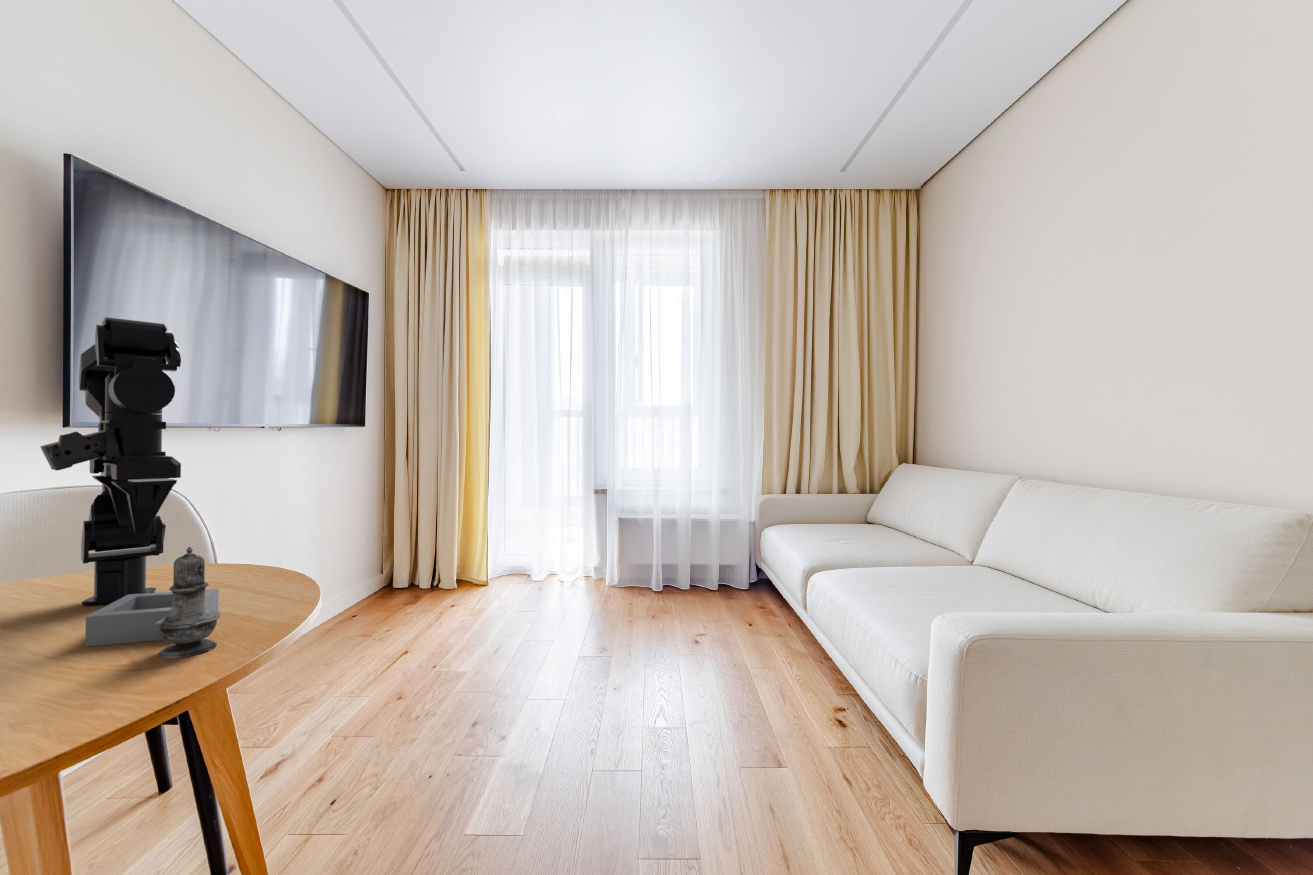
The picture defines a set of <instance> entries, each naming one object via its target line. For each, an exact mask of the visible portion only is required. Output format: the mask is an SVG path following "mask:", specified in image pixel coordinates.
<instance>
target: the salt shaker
mask: <svg viewBox="0 0 1313 875" xmlns="http://www.w3.org/2000/svg"><path fill="white" fill-rule="evenodd" d="M193 551H194V549H193V547H191V546H188V547H187V548H186V550H185V552H186V553H185V554H183V555H182V556H179V557H177V558H175V560H174V562H173V583H172V584H173V585H171V586H170V587H169V588H168V590H169V592H172V608H171V612H170V614H169V616H168V617H166V618H164V619H162V620H159V621H158V622H157V623H156V627H157V628H159V634H160V635H161V637H162V639H163V640H164V641H165V642H166V643H168V644H169V645H167V646H166V647H164V648H163V649H162V650H160V651H159V652H158V657H160V658H162V659H170V660H171V659H182V658H188V657H189V658H190V657H194V656H199V655H201V654H205V653H208V652H209V651H212V650H214V649H215V648H216V647H217V646H218V644H217V642H216V641H214V640H211V639H208V638H209V636H210V635H211V634H212V633H213V632H214V631H215V628H216V627H217V624H218V620H219V618H220V617H221V614H220V612H219V611H218V612H213V611H209V610H208V609H207V606H206V603H205V589H207V587H209V583H208V582H206V581H205V577H206V574H205V572H206V571H205V570H206V569H205V568H206V566H205V564H206V561H205V558H204V557H203V556H201V555H199V554H196V553H193ZM207 637H208V638H207ZM163 640H162V641H163Z"/></svg>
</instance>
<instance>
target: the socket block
mask: <svg viewBox="0 0 1313 875" xmlns="http://www.w3.org/2000/svg"><path fill="white" fill-rule="evenodd" d="M219 592H220V590H219V588H205V603H206V606H207V609H208V610H209V611H213V612H218V613H219V605H220V604H219V601H220V600H219V594H220V593H219ZM171 608H172V591H163V592H162V591H158V592H152V593H143V594H128V595H126V596H124V597H123V598H121V599H119V600H117V601H115V602H113V603H108V604H107V605H105V606H104V607H102V608H100V609H98V610H95V612H93V613H90V614H88V615H86V616H85V647H86V648H87V647H88V648H89V647H96V646H97V647H98V646H106V645H107V646H108V645H119V644H132V643H142V642H143V643H144V642H153V641H155V642H156V641H163V639H162V637H161V635H160V634H159V628H157V627H156V623H157V622H158V621H159V620H162V619H164V618H166V617H168V616H169V614H170V612H171Z"/></svg>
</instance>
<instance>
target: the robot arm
mask: <svg viewBox="0 0 1313 875" xmlns="http://www.w3.org/2000/svg"><path fill="white" fill-rule="evenodd" d="M167 331H168V326H167V325H166V324H164V323H160V322H152V321H142V320H135V319H125V318H115V317H109V316H108V317H107V316H106V317H104V318H103V320H102V322H101V324H96V325H95V333H94V334H95V335H94V336H95V338H94V344H93V345H91V346H90V347H89V348H88V349H86V350H85V351H84V352H82V353H81V354H80V356H79V357H80V358H79V361H80V362H79V373H78V390H79V391H84V397H85V398H84V400H85V405H86V406H87V407H88V408H89V409H90V410H91V411H92V412H93V413H94V414H95V415H96V416H97V417H98V418H99V423H98V426H97V427H98V428H97V429H98V431H95V432H91V433H88V434H84V435H83V434H81V433H80V432H79V431H72V432H70V433H65V434H60V435H59V437H58V441H55V442H51V443H48V444H47V443H46V444H44V445H41V446H40V447H39V448H40V449H41V451H42V453H43V455H44V457H45V459H46V461H47V463H48V464H49V467H50V469H51V470H54V471H61V470H66V469H70V468H72V467H73V466H74V465H77V464H81V463H84V462H88V461H89V474H93V475H92V476H91V477H92V478H93V479H94V480H96V481H98V482H99V483H100V484H101V493H100V494H97V496H96V497H95V498H94V500H93V502H92V504H91V505H90V509H89V510H90V511H89V516H88V520H83V523H82V532H81V544H80V545H81V546H80V556H81V557H80V558H81V559H80V560H81V561H82V564H83V565H84V564H89V563H94V576H93V580H94V581H93V582H94V583H93V584H94V585H93V586H94V587H93V596H91V597H88V598H85V599H84V600H82V601H81V605H82V606H85V605H86V606H87V605H88V606H89V605H100V604H101V605H102V604H111V603H113V602H115V601H117V600H119V599H121V598H123V597H124V596H126V595H128V594H143V593H155V592H156V591H157V588H156V587H147V557H149V556H151V557H153V556H155V557H156V556H158V557H159V556H160V554H164V541H165V535H166V530H167V528H166V527H167V525H166V524H165V523H164V522H163V521H162V518H161V516H160V515H158V513H159V511H160V510H161V508H162V506H163V504H164V503H165V500H166V499H167V498H168V496H169V494H170V492H171V491H172V489H173V487H174V486H175V485H177V482H178V480H177V479H179V478H180V479H181V477H182V476H181V475H182V473H181V472H182V464H181V462H180V461H179V460H177V459H176V458H175V457H174V456H172V455H171V456H170V455H167V454H166V453H167V452H166V451H162V449H163V448H162V447H163V446H162V444H163V443H162V442H163V438H162V437H163V430H166V429H167V422H166V421H163V409H164V408H165V407H167V406H168V405H169V404H170V403H171V402H172V401H173V399H174V398H175V394H176V386H175V384H174V381H173V380H172V378H171V377H170V376H169V375H168V374H167V373H166V372H177V371H178V368H180V367H181V364H182V358H181V352H180V348H179V343H178V340H176V339H175V335H174V334H173V333H172V332H167ZM94 474H100V475H94ZM92 551H94V552H92ZM89 552H90V553H89Z"/></svg>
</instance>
